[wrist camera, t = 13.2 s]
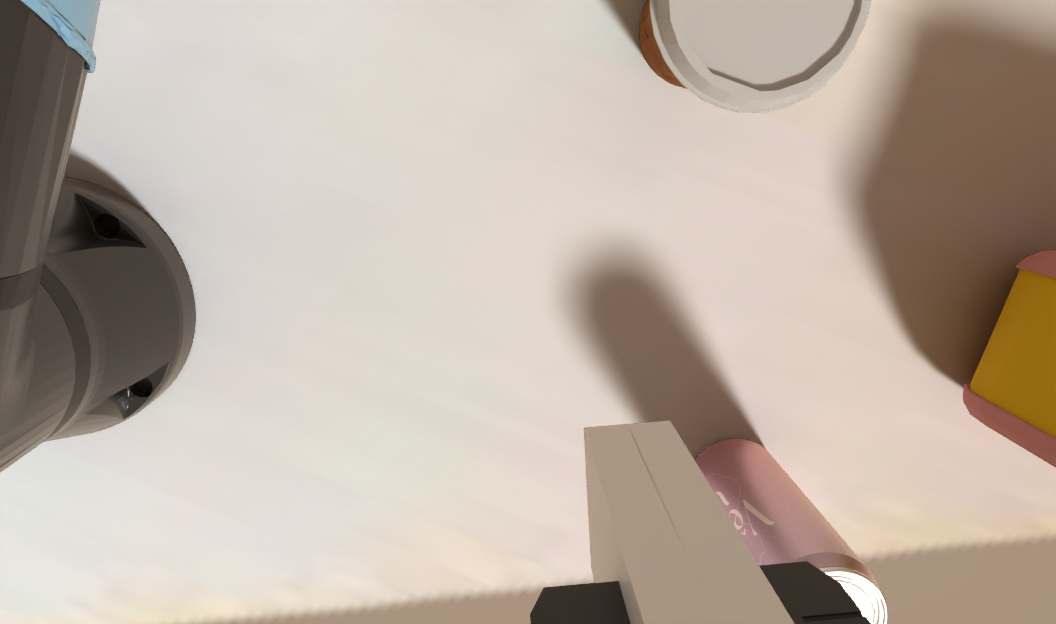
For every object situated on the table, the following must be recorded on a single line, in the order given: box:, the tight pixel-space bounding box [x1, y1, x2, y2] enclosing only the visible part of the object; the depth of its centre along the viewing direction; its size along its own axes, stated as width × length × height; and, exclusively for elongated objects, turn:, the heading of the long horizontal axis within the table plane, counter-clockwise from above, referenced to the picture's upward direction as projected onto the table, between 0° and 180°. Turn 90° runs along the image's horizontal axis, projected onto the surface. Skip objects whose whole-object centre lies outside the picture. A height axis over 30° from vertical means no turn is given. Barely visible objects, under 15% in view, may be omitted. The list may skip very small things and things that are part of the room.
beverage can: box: [695, 438, 888, 624], centre depth 41 cm, size 6×6×15 cm
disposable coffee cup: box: [639, 0, 871, 113], centre depth 36 cm, size 10×10×12 cm
